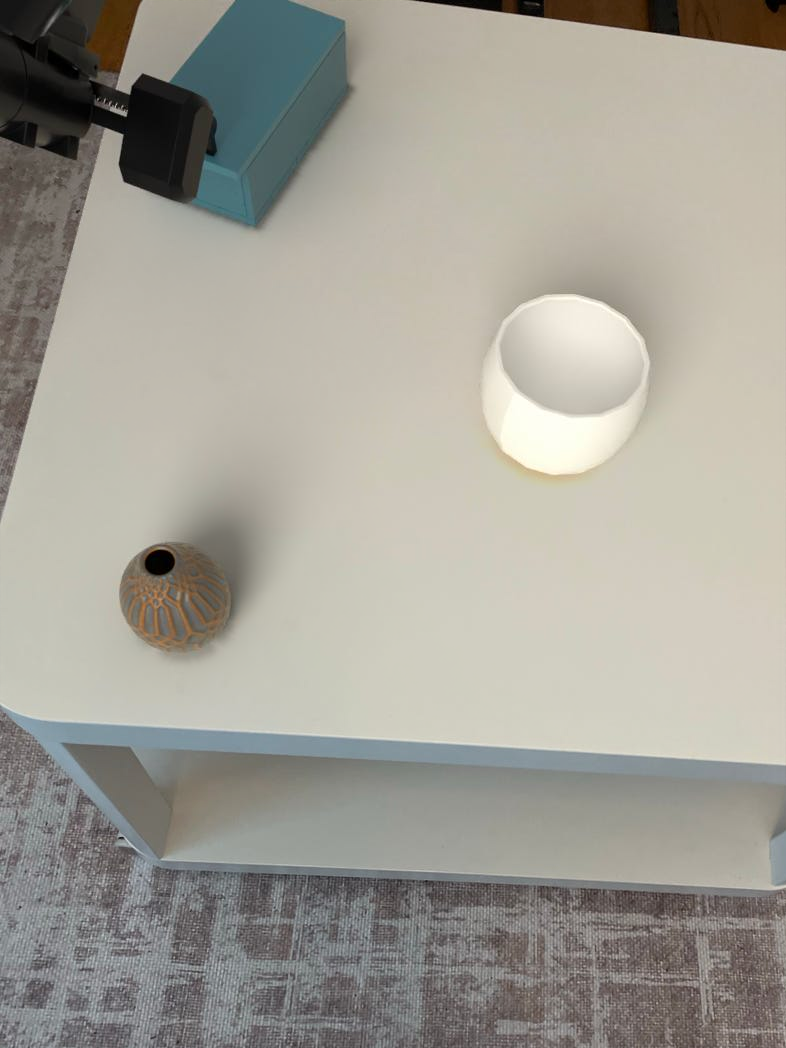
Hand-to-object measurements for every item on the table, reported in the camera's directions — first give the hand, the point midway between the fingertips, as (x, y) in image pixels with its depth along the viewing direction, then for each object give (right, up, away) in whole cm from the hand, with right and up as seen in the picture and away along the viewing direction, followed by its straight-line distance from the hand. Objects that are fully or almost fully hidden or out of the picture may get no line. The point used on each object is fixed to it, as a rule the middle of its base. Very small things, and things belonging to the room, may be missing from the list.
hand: (131, 128), depth 64 cm
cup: (+30, -20, +9) cm, 37 cm away
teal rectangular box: (+4, +9, +18) cm, 21 cm away
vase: (+4, -35, -1) cm, 35 cm away
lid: (+5, +11, +12) cm, 17 cm away
